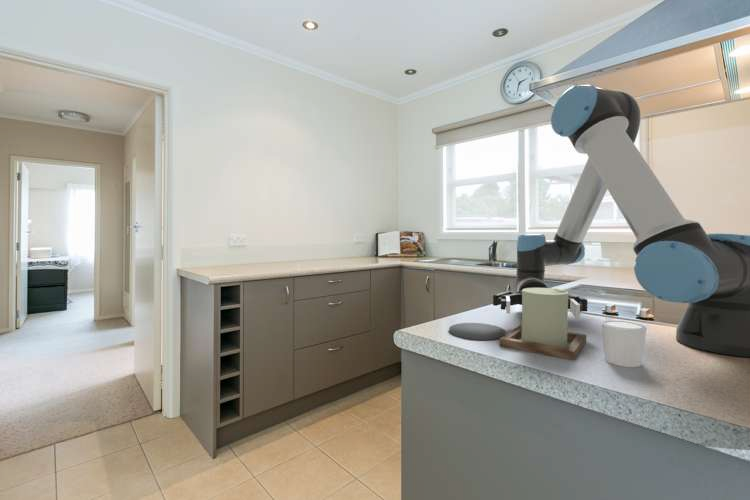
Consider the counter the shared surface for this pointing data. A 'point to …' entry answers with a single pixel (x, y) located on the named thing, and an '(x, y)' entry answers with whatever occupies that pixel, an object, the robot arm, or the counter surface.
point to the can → (545, 316)
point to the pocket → (568, 353)
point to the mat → (477, 331)
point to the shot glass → (623, 343)
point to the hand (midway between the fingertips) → (542, 309)
